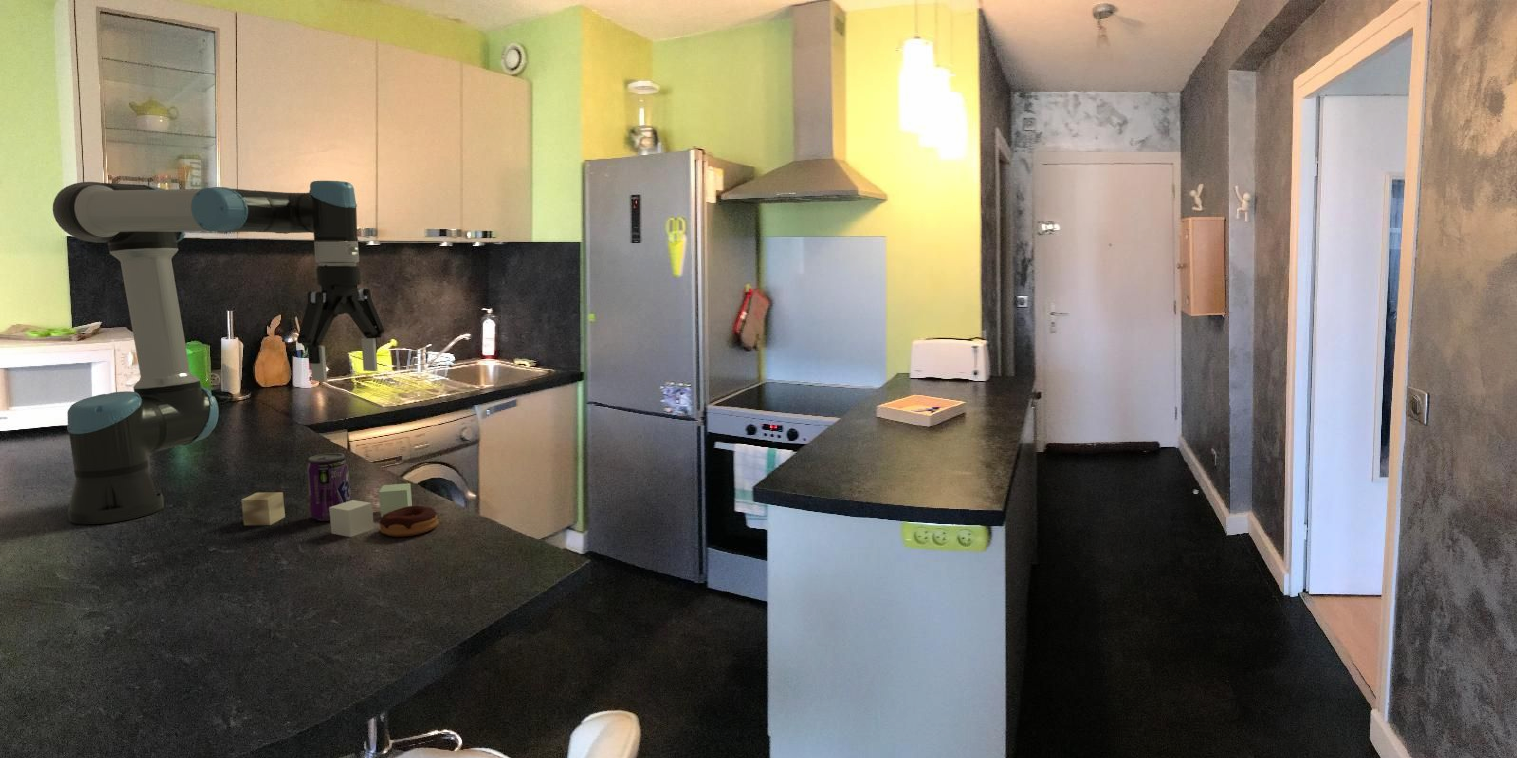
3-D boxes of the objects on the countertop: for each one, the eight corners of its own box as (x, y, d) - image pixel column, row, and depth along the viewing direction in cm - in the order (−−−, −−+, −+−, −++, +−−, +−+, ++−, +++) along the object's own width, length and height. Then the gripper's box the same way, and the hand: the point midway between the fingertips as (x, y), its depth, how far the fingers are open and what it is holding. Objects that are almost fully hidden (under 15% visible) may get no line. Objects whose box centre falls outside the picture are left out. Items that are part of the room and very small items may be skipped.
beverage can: (335, 523, 162) (330, 461, 160) (302, 522, 163) (297, 460, 161) (360, 512, 168) (355, 453, 167) (328, 510, 170) (323, 451, 168)
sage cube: (380, 517, 166) (378, 492, 165) (385, 509, 171) (383, 485, 170) (408, 514, 167) (406, 490, 166) (412, 507, 172) (410, 483, 171)
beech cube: (244, 525, 161) (241, 500, 161) (259, 517, 166) (257, 492, 166) (270, 525, 161) (267, 499, 161) (285, 517, 166) (282, 492, 166)
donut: (425, 519, 164) (424, 499, 164) (448, 530, 158) (447, 509, 157) (371, 531, 157) (370, 510, 157) (393, 544, 151) (391, 522, 150)
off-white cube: (331, 533, 156) (329, 507, 155) (355, 525, 161) (352, 500, 160) (350, 537, 154) (348, 510, 153) (373, 529, 158) (371, 503, 158)
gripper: (303, 266, 149) (313, 386, 153) (398, 263, 173) (405, 367, 177) (268, 265, 151) (278, 384, 155) (367, 263, 175) (374, 366, 178)
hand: (346, 375), depth 166 cm, fingers open, 13 cm apart
